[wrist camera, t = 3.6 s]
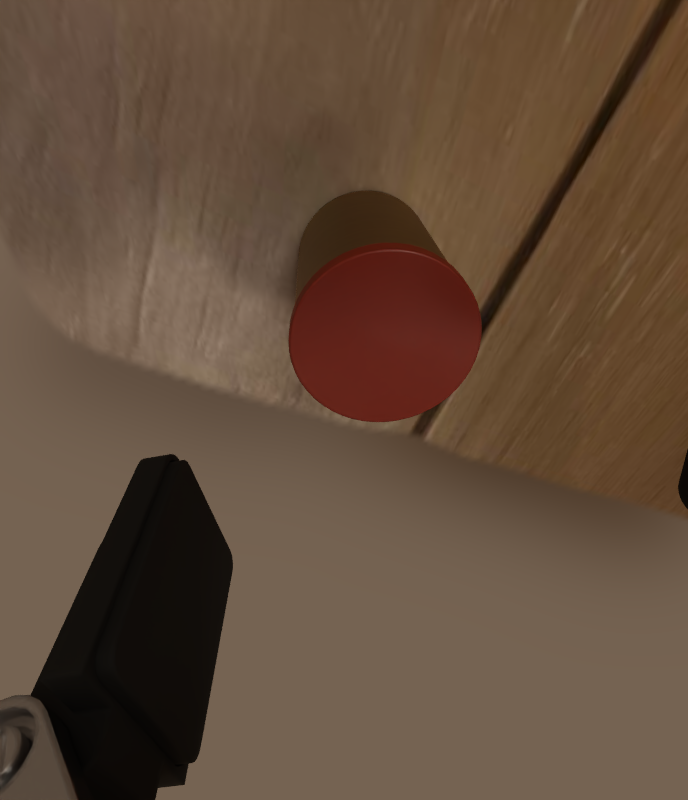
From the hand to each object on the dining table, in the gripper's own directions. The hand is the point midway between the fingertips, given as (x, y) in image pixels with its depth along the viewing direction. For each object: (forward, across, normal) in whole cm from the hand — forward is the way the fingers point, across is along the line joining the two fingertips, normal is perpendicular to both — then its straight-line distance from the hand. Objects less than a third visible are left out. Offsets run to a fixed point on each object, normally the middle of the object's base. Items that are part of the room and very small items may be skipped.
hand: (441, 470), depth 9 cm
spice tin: (+12, +1, 0) cm, 12 cm away
